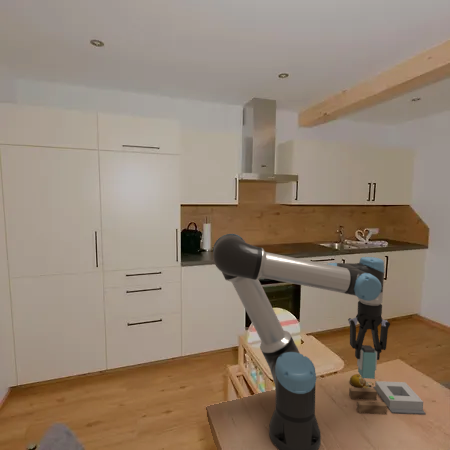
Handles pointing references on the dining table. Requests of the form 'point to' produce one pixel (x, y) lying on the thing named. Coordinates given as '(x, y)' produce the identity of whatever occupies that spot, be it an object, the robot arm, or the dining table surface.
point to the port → (399, 397)
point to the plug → (368, 362)
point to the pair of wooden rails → (367, 406)
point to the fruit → (359, 381)
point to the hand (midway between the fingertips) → (366, 367)
